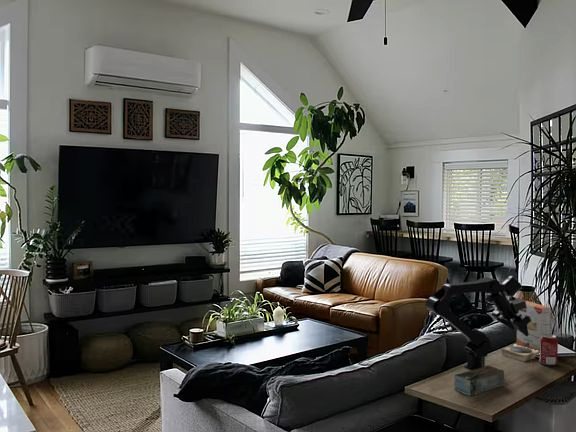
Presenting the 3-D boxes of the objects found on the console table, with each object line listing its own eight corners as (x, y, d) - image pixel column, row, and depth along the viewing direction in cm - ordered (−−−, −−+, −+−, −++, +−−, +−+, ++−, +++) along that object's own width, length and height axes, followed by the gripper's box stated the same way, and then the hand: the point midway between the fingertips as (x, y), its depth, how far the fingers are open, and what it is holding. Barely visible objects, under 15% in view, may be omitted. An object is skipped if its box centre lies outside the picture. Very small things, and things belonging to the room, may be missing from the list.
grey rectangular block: (452, 389, 207) (453, 372, 207) (487, 380, 218) (488, 363, 217) (470, 397, 201) (470, 378, 200) (505, 386, 211) (505, 369, 210)
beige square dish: (523, 361, 239) (523, 355, 239) (501, 354, 248) (501, 348, 248) (539, 357, 244) (539, 351, 244) (517, 350, 254) (518, 344, 254)
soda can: (557, 367, 232) (558, 338, 231) (539, 365, 234) (540, 337, 233) (556, 362, 238) (557, 334, 237) (538, 360, 240) (539, 332, 239)
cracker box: (515, 346, 260) (517, 301, 259) (525, 344, 263) (526, 300, 261) (539, 355, 248) (541, 308, 246) (549, 353, 250) (551, 306, 248)
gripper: (531, 296, 223) (549, 326, 226) (502, 287, 241) (520, 315, 244) (510, 313, 221) (529, 343, 224) (483, 303, 239) (501, 331, 242)
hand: (520, 332), depth 234 cm, fingers open, 9 cm apart
